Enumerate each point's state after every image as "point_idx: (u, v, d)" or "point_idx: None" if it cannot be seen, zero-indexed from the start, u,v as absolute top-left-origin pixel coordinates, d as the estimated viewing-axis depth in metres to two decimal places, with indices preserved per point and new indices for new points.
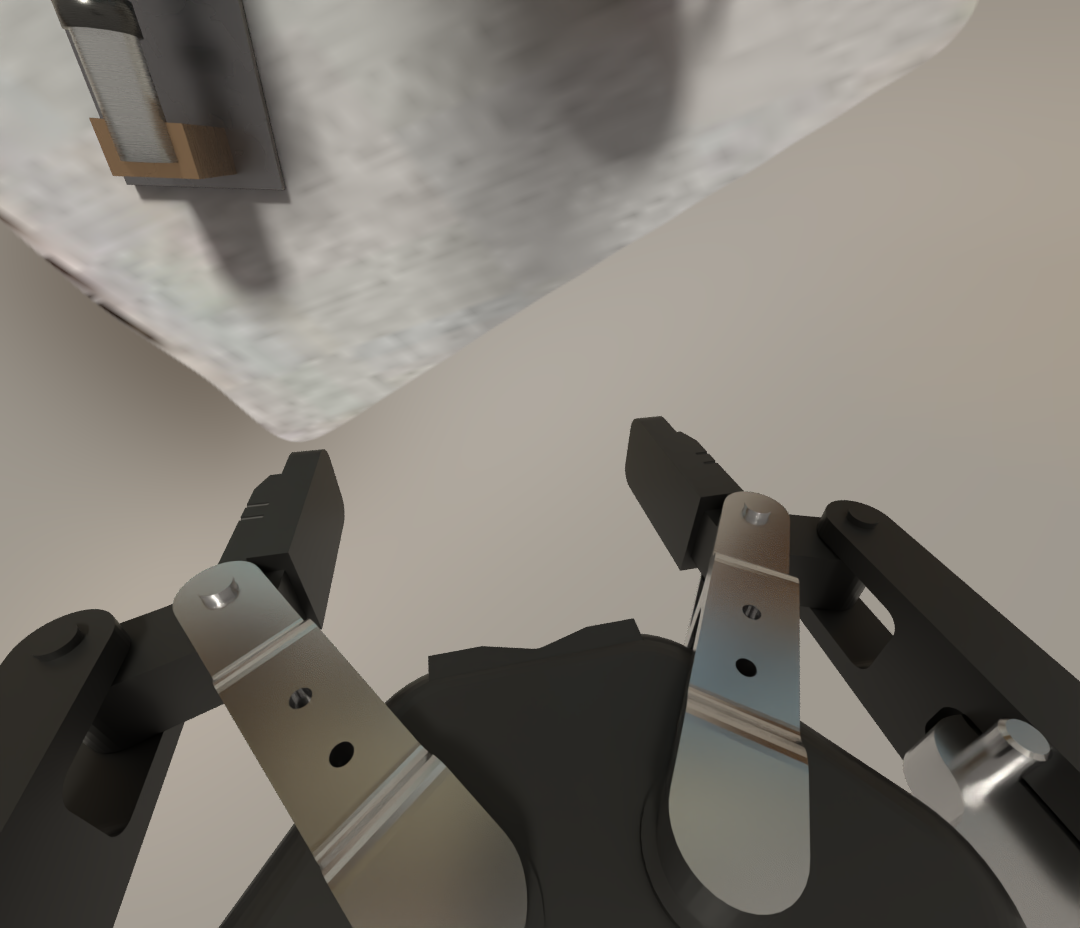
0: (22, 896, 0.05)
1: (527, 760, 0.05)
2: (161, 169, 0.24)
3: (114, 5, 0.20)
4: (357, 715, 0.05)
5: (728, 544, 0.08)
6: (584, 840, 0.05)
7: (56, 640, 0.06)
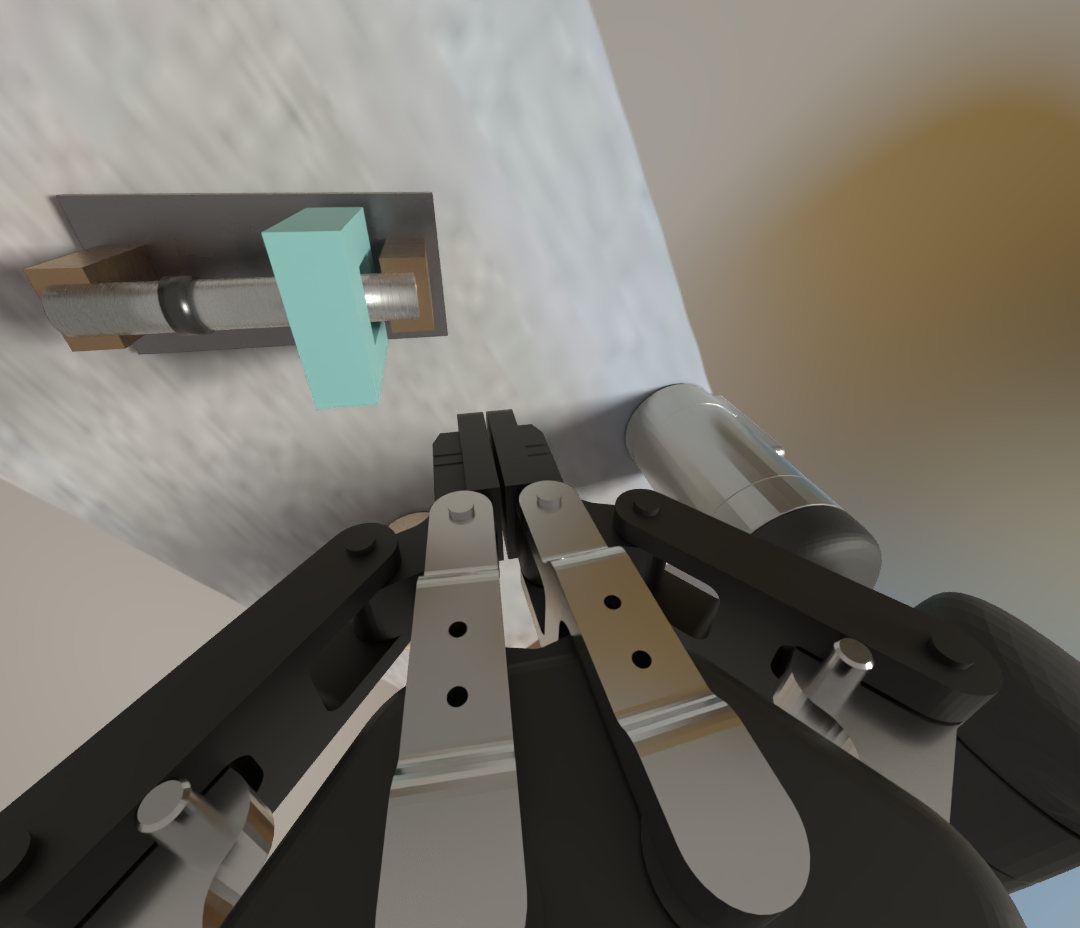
0: (261, 727, 0.06)
1: (527, 760, 0.05)
2: None
3: (197, 333, 0.23)
4: (484, 674, 0.05)
5: (547, 544, 0.08)
6: (585, 840, 0.05)
7: (361, 542, 0.08)
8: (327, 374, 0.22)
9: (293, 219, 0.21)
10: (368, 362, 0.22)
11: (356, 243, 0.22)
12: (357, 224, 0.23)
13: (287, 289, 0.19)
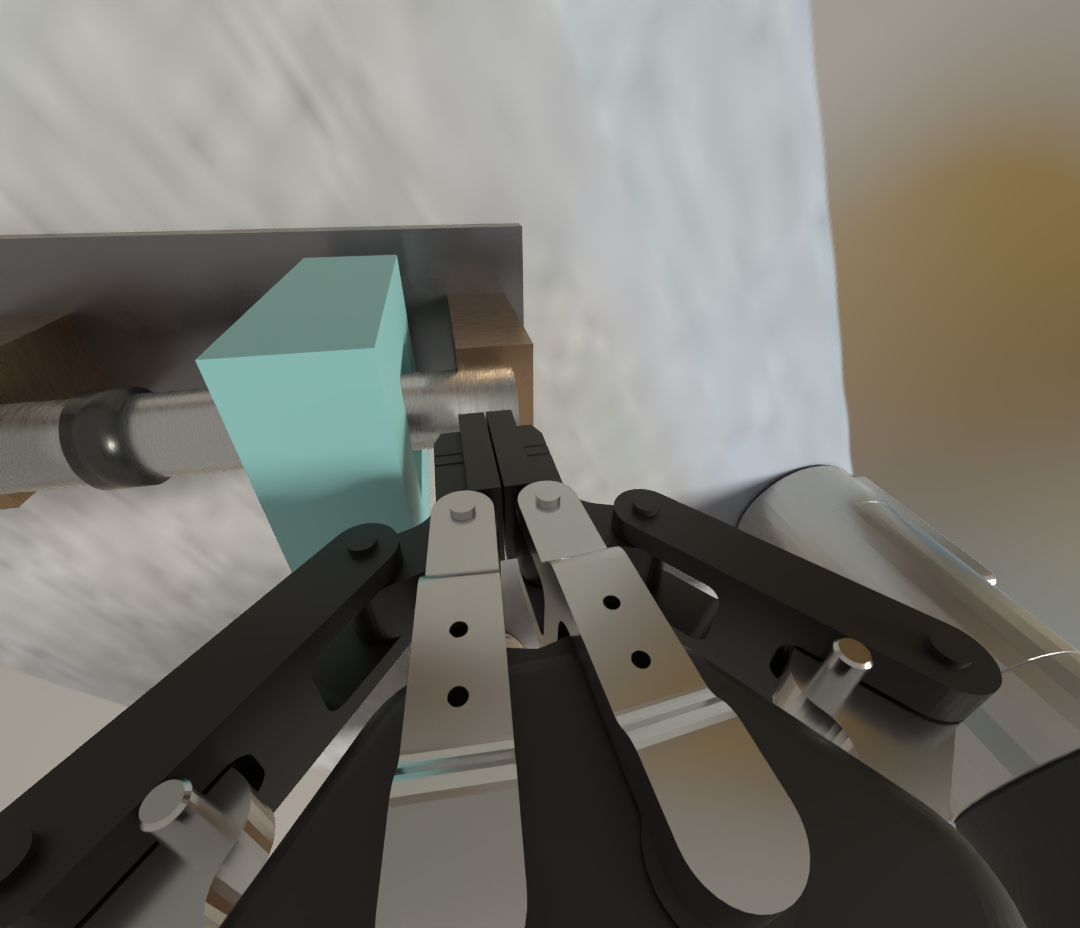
0: (262, 726, 0.06)
1: (527, 760, 0.05)
2: None
3: (141, 485, 0.13)
4: (485, 674, 0.05)
5: (547, 544, 0.08)
6: (585, 840, 0.05)
7: (362, 542, 0.08)
8: None
9: (276, 298, 0.11)
10: None
11: (394, 335, 0.12)
12: (393, 295, 0.13)
13: (260, 462, 0.09)
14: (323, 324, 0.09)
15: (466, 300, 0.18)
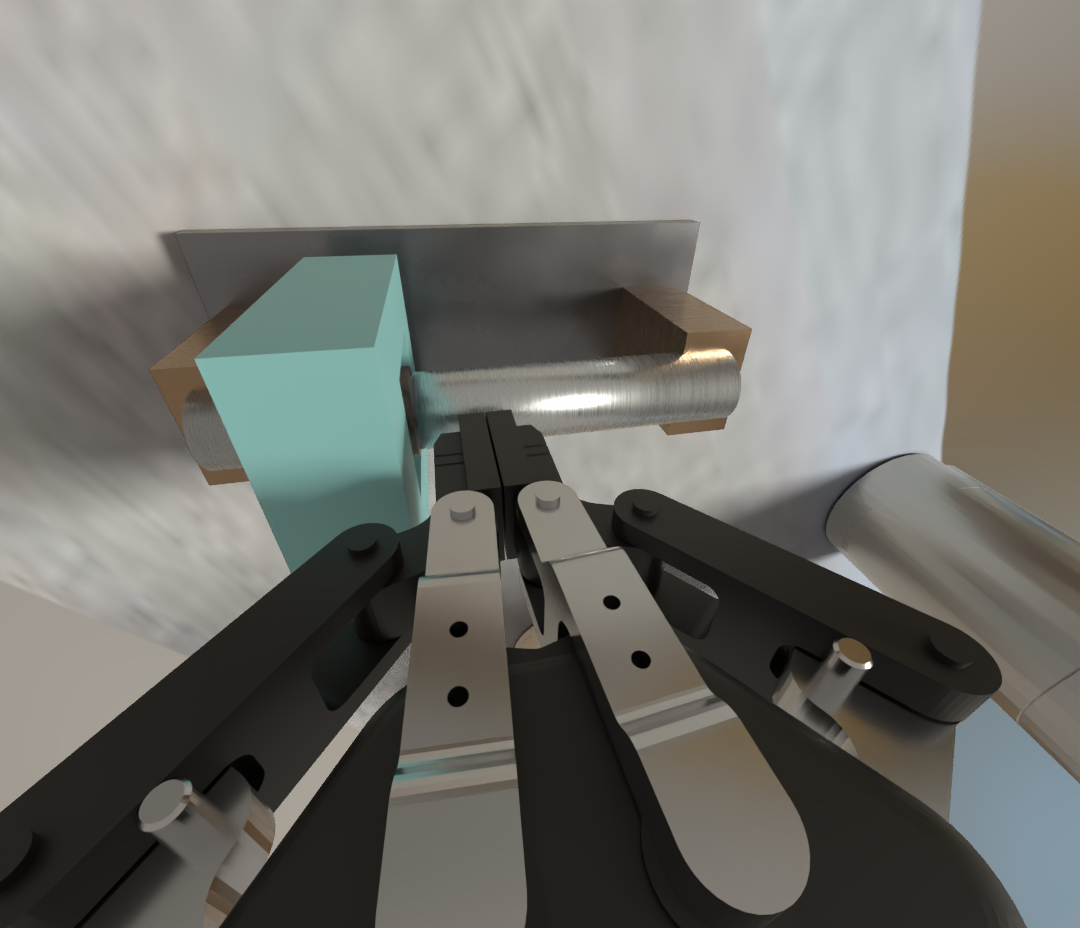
0: (262, 726, 0.06)
1: (527, 761, 0.05)
2: None
3: None
4: (485, 674, 0.05)
5: (547, 544, 0.08)
6: (585, 840, 0.05)
7: (362, 542, 0.08)
8: None
9: (276, 297, 0.11)
10: None
11: (394, 335, 0.12)
12: (393, 295, 0.13)
13: (259, 461, 0.09)
14: (322, 323, 0.09)
15: (645, 291, 0.20)
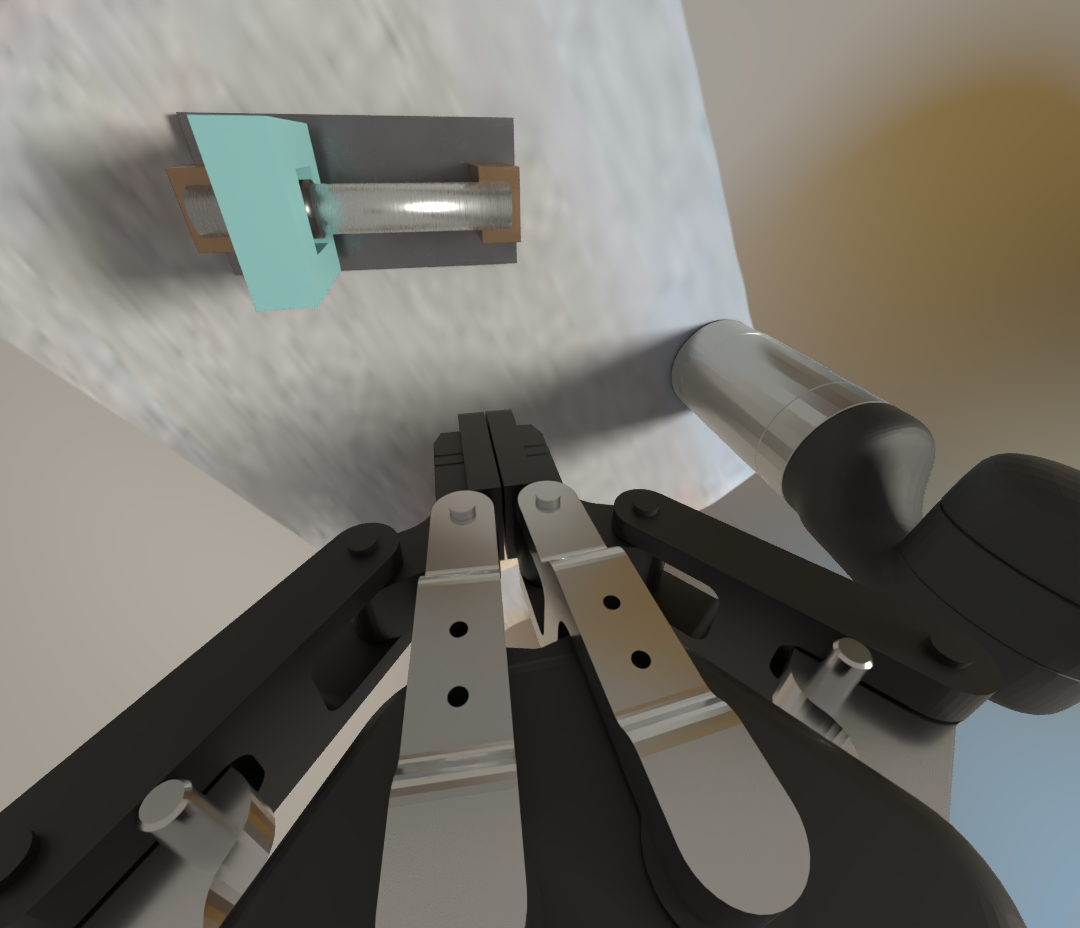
0: (262, 726, 0.06)
1: (527, 761, 0.05)
2: None
3: (314, 235, 0.25)
4: (485, 674, 0.05)
5: (547, 544, 0.08)
6: (585, 839, 0.05)
7: (362, 542, 0.08)
8: (265, 273, 0.22)
9: None
10: (305, 261, 0.22)
11: (292, 146, 0.23)
12: (295, 131, 0.24)
13: (217, 178, 0.20)
14: None
15: (480, 163, 0.30)
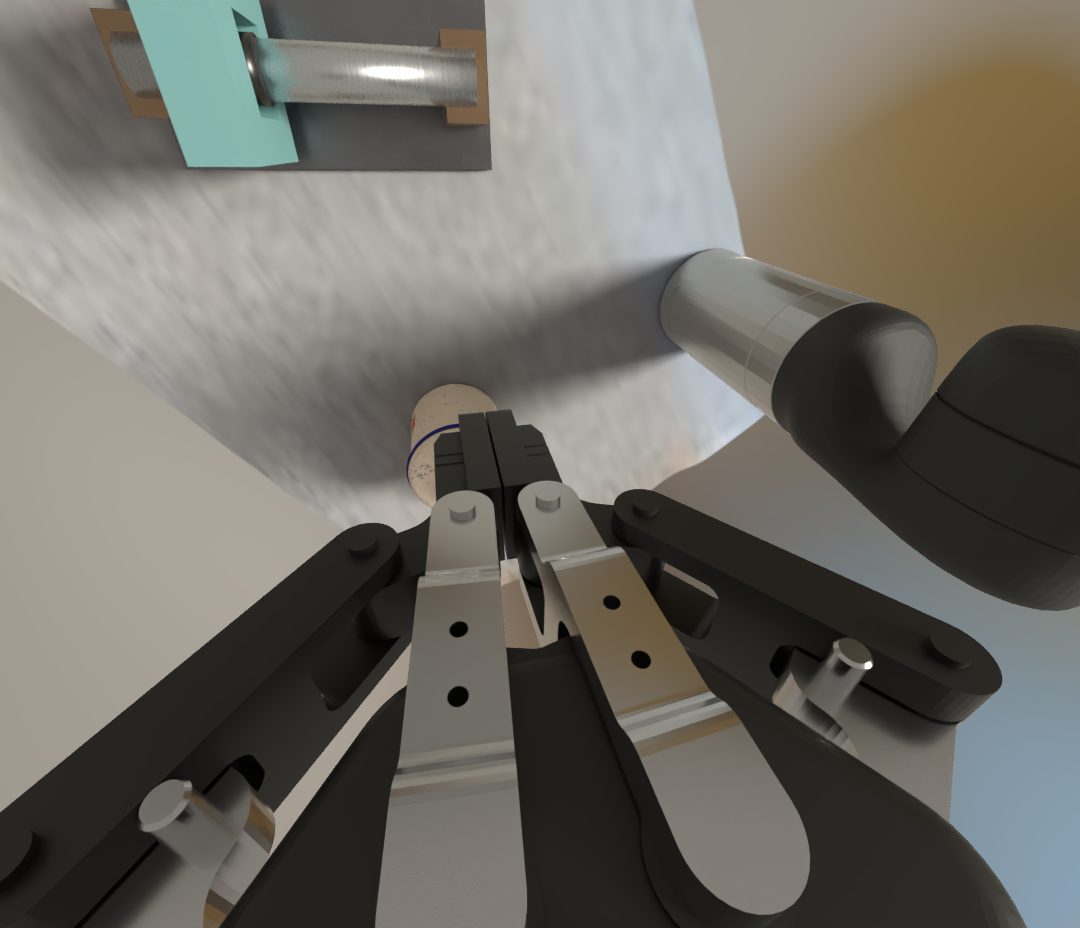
0: (262, 726, 0.06)
1: (527, 760, 0.05)
2: None
3: (259, 97, 0.23)
4: (485, 674, 0.05)
5: (547, 544, 0.08)
6: (585, 840, 0.05)
7: (362, 542, 0.08)
8: (195, 118, 0.20)
9: None
10: (240, 107, 0.20)
11: None
12: None
13: None
14: None
15: None
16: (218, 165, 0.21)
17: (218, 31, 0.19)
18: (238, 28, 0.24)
